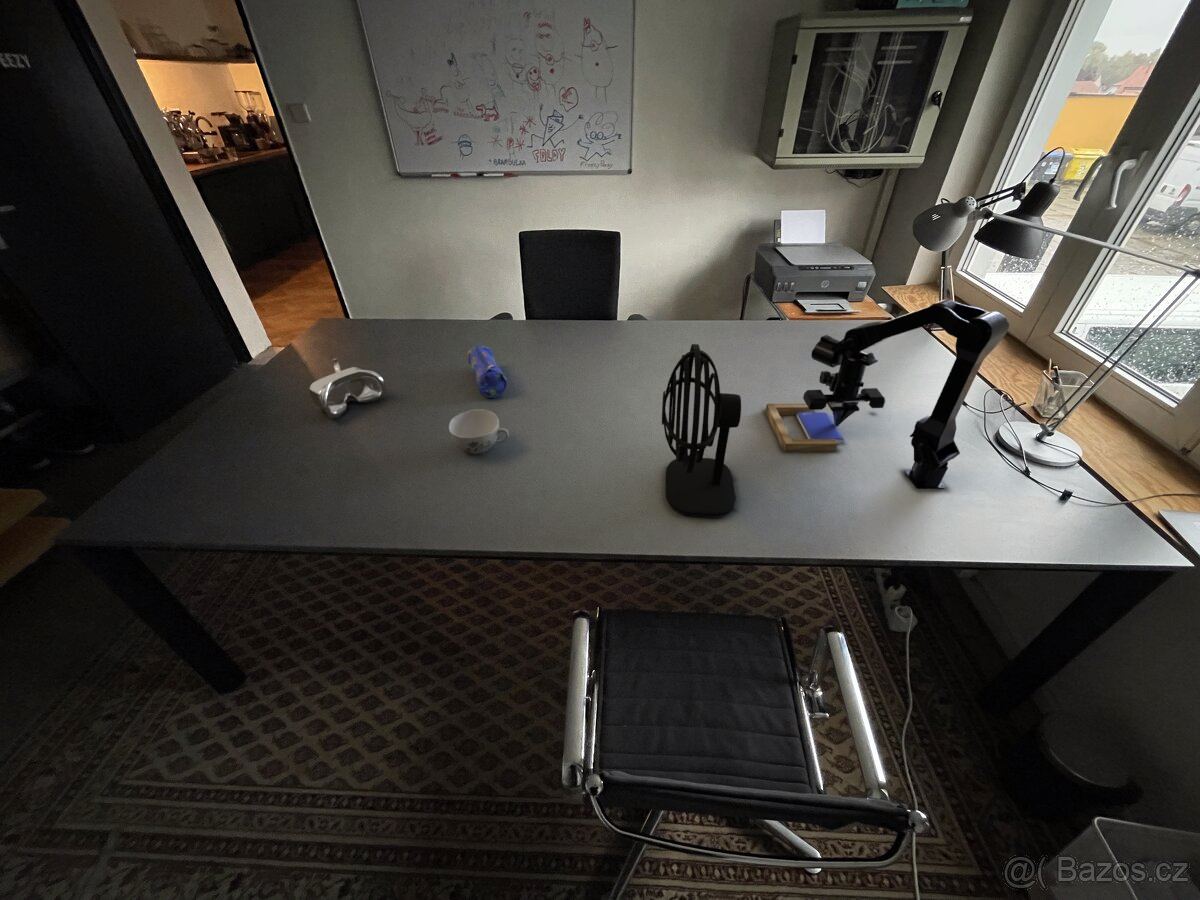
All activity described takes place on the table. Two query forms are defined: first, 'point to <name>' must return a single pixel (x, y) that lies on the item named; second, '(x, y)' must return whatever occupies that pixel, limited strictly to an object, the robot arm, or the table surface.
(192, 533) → the table surface
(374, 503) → the table surface
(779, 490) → the table surface
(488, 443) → the teacup
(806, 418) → the hard drive
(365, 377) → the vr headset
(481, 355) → the pencil case
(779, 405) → the dock
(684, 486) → the desk fan
